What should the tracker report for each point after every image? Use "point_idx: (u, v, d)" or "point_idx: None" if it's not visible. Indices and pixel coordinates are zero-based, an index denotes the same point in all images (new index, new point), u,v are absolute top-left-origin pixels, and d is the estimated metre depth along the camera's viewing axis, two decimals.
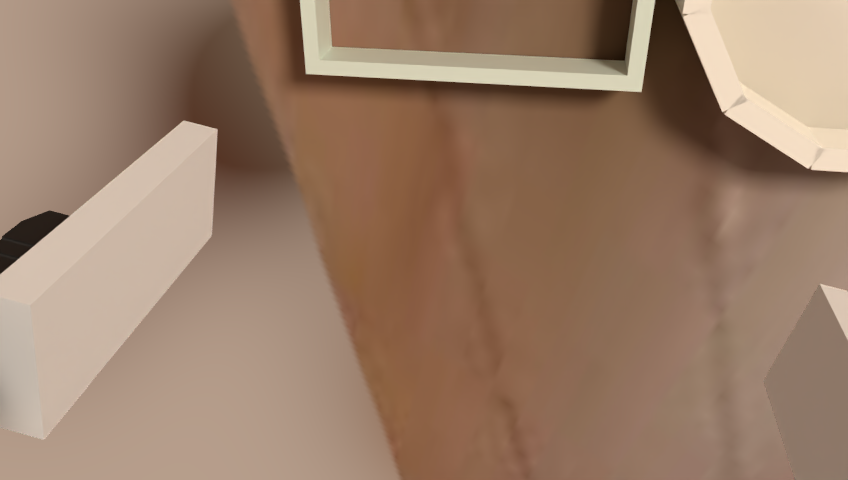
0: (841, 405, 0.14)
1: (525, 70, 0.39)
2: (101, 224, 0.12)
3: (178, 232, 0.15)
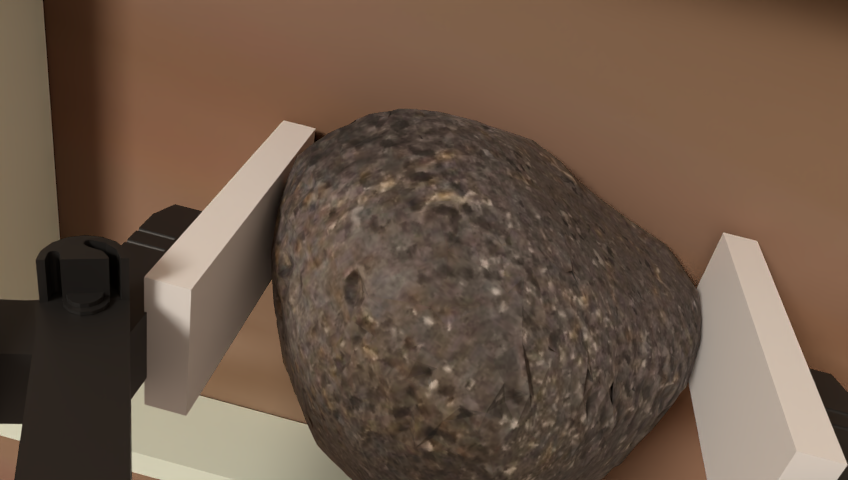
0: (730, 338, 0.15)
1: None
2: (234, 216, 0.13)
3: None
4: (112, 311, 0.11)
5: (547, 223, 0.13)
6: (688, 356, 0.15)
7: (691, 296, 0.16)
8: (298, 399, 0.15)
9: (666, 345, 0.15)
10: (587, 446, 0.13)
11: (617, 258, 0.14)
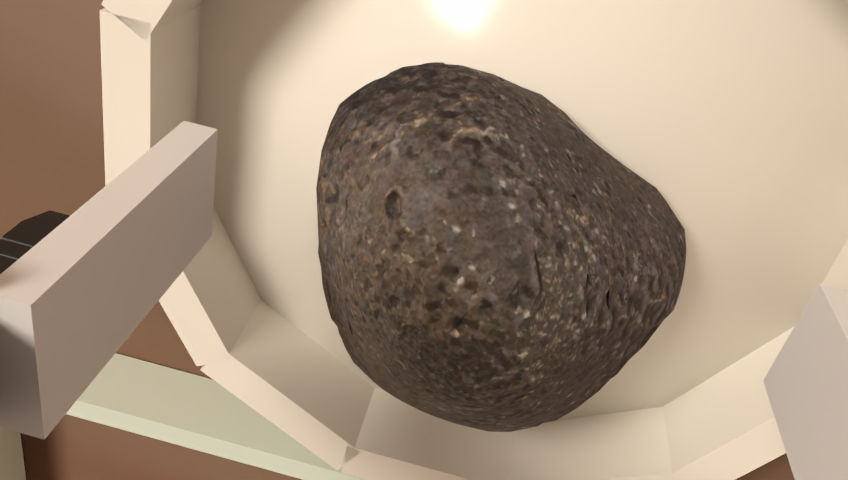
0: (840, 405, 0.14)
1: None
2: (101, 224, 0.12)
3: (178, 232, 0.15)
4: None
5: (555, 156, 0.16)
6: (674, 279, 0.18)
7: (678, 230, 0.18)
8: (338, 315, 0.18)
9: (655, 266, 0.17)
10: (587, 343, 0.15)
11: (613, 192, 0.17)
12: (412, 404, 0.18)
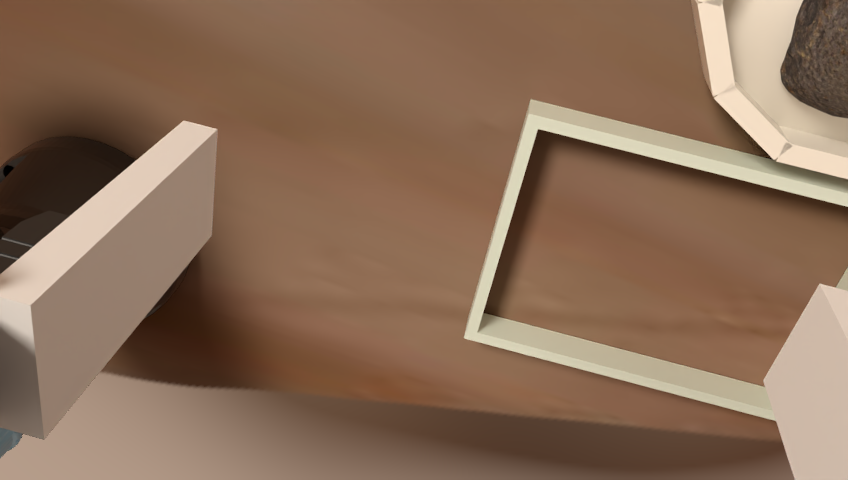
0: (840, 405, 0.14)
1: None
2: (101, 224, 0.12)
3: (178, 232, 0.15)
4: None
5: None
6: None
7: None
8: (830, 50, 0.38)
9: None
10: None
11: None
12: None
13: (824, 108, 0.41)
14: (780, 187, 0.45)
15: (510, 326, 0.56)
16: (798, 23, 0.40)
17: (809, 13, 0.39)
